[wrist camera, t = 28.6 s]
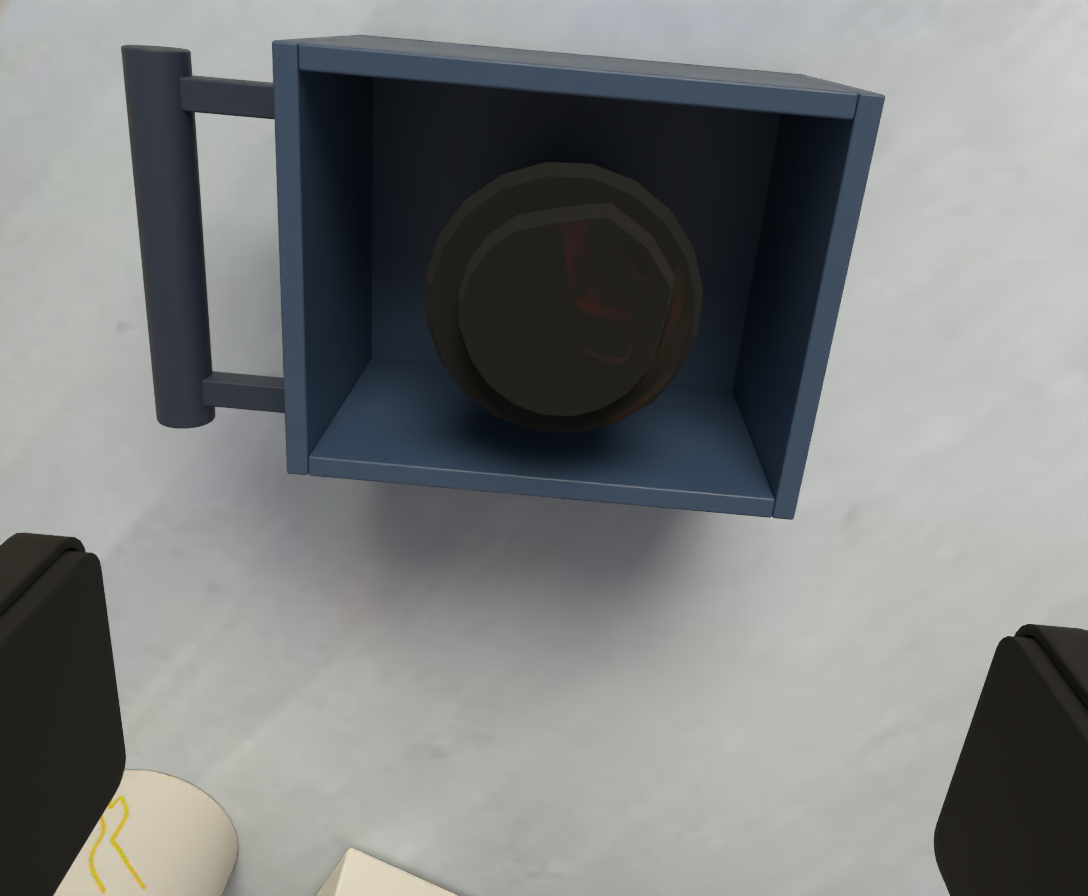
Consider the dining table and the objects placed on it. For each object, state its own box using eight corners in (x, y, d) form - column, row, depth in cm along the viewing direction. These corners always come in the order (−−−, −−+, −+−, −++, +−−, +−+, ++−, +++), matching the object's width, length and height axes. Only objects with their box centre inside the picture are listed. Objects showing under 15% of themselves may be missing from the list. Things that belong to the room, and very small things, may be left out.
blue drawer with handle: (240, 354, 34) (130, 459, 26) (221, 22, 30) (82, 23, 21) (744, 400, 34) (794, 520, 26) (803, 74, 30) (886, 95, 21)
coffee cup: (562, 375, 33) (552, 508, 24) (421, 228, 31) (352, 312, 22) (718, 242, 31) (771, 333, 22) (576, 75, 29) (571, 100, 20)
